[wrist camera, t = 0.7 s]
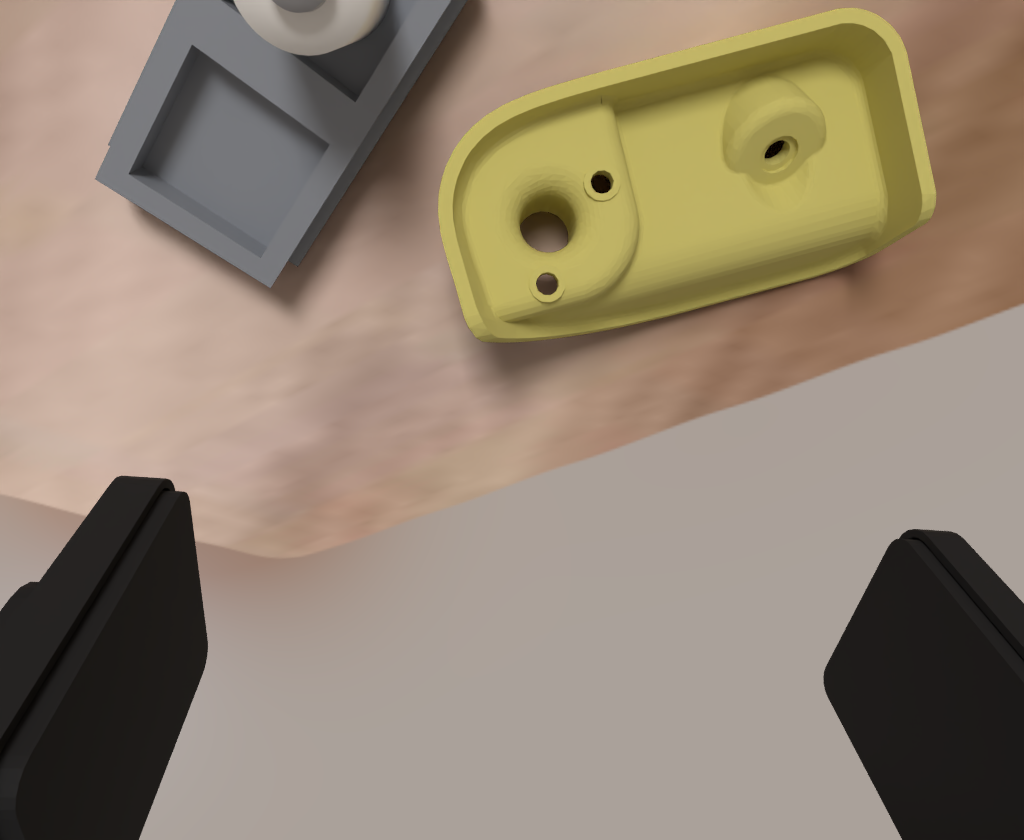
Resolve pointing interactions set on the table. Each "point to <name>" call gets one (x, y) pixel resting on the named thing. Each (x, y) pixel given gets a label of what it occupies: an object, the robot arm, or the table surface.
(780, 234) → the plastic component
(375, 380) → the table surface
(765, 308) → the table surface
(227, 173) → the housing
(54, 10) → the table surface
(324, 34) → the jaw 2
